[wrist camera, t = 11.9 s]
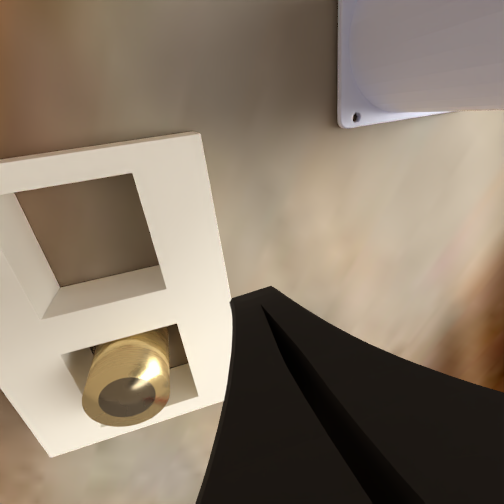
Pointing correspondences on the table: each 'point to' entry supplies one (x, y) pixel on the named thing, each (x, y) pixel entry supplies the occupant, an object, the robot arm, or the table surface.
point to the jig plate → (112, 289)
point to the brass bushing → (128, 379)
